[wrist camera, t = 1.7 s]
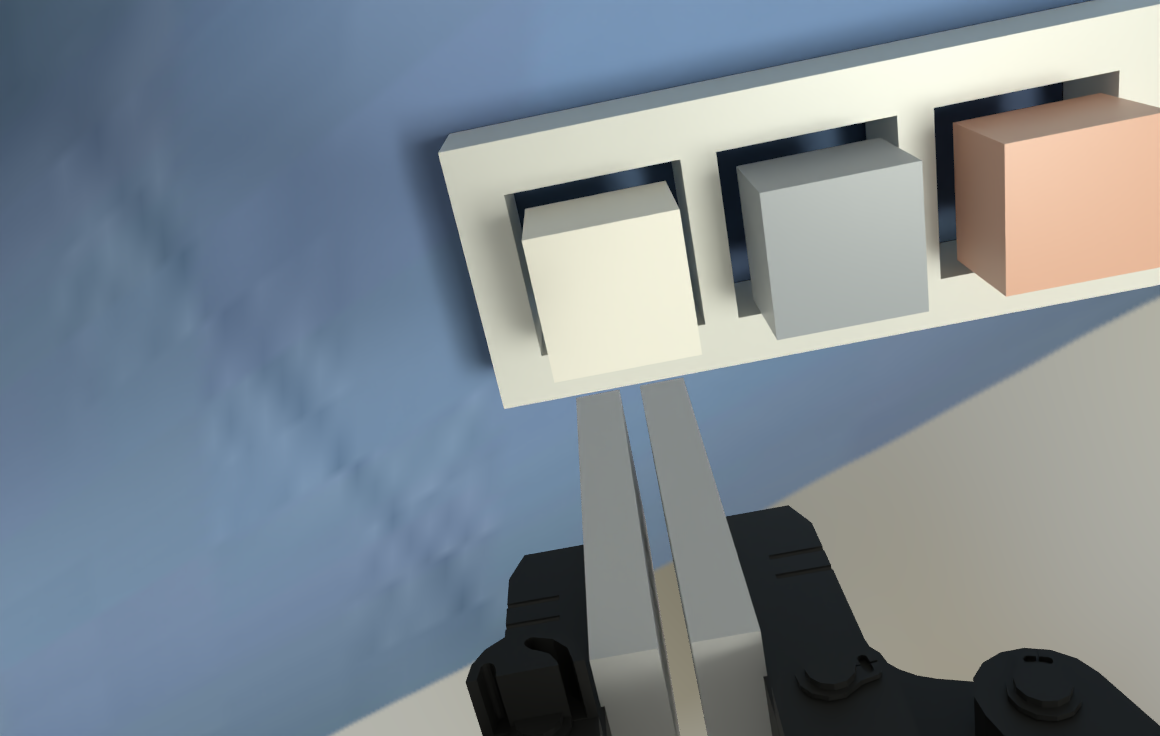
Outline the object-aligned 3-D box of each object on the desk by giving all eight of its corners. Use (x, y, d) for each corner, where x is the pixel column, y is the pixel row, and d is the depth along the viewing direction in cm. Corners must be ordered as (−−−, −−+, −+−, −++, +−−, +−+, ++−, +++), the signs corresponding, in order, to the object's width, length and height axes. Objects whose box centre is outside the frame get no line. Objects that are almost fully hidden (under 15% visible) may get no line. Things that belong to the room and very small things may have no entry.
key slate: (753, 299, 27) (777, 340, 24) (736, 166, 26) (759, 193, 23) (888, 273, 27) (929, 311, 24) (880, 137, 26) (922, 160, 23)
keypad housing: (508, 369, 31) (504, 409, 29) (449, 133, 28) (438, 152, 25) (1107, 254, 30) (1162, 284, 28) (1116, -5, 27) (1179, 0, 24)
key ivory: (554, 337, 28) (554, 382, 25) (525, 208, 26) (521, 240, 23) (686, 312, 28) (702, 354, 25) (665, 180, 26) (679, 209, 23)
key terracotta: (957, 260, 27) (1006, 296, 24) (952, 122, 25) (1004, 144, 23) (1095, 233, 27) (1162, 267, 24) (1100, 92, 25) (1171, 110, 22)
